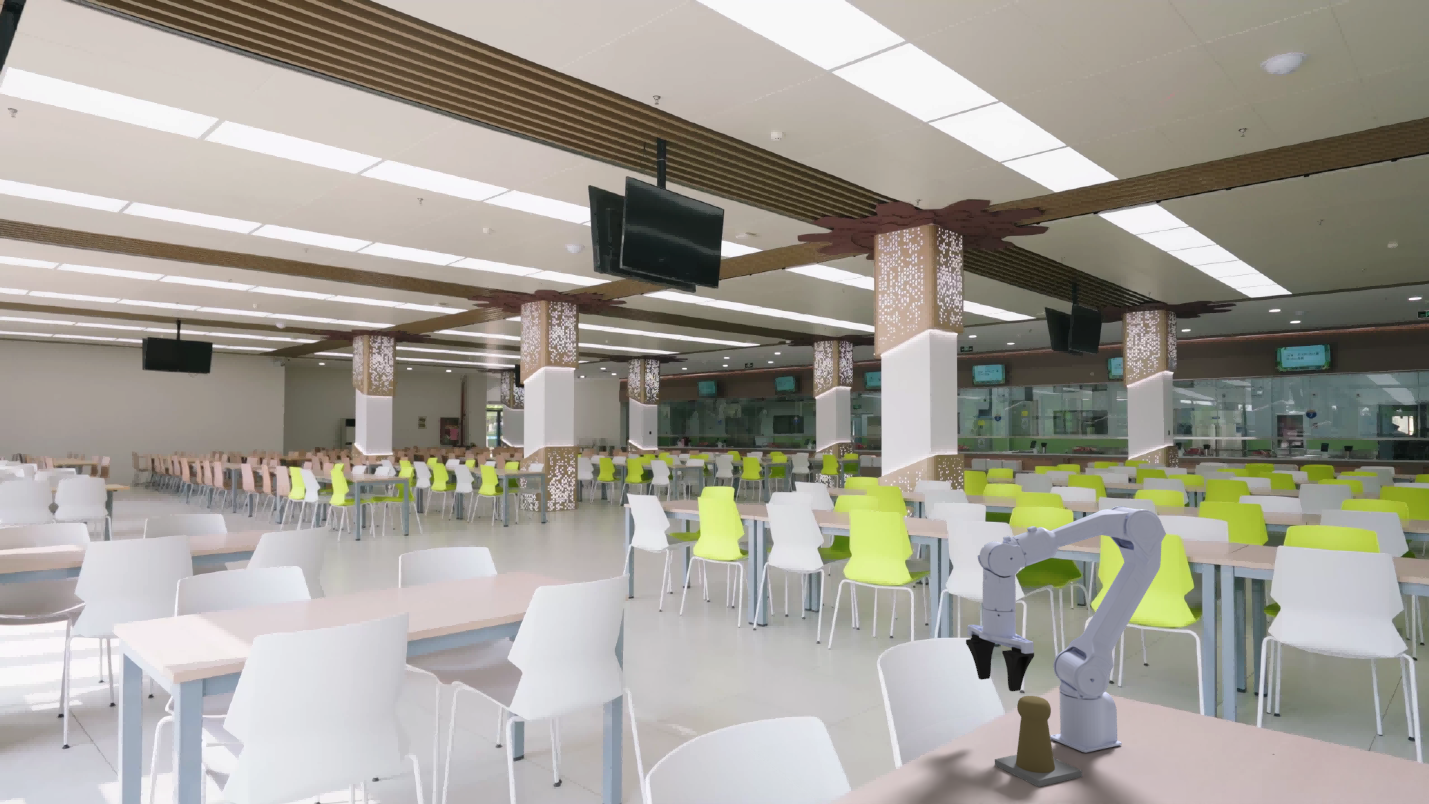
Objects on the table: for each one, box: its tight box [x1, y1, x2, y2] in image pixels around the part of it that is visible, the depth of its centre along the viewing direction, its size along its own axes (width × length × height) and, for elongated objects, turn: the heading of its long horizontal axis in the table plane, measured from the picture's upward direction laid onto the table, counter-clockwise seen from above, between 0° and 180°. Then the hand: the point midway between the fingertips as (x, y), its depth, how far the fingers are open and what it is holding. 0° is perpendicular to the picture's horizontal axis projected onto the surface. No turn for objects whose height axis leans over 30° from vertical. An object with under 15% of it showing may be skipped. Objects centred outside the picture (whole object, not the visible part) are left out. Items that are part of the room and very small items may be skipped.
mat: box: [994, 754, 1083, 788], centre depth 134 cm, size 10×10×1 cm
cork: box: [1016, 695, 1055, 773], centre depth 134 cm, size 6×6×11 cm
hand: (999, 684), depth 147 cm, fingers open, 7 cm apart
